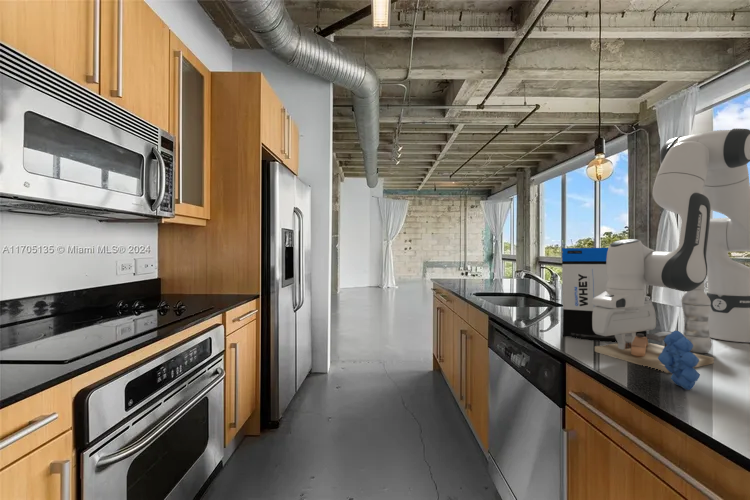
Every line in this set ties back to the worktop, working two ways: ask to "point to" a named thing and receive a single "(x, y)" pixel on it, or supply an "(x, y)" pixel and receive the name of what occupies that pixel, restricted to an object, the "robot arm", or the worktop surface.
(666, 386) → the worktop surface
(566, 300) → the protein powder
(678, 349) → the grapes
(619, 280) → the robot arm
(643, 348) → the link
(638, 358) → the board
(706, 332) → the plastic bottle
